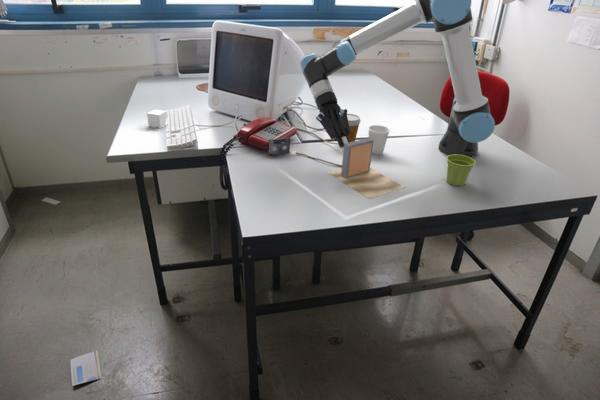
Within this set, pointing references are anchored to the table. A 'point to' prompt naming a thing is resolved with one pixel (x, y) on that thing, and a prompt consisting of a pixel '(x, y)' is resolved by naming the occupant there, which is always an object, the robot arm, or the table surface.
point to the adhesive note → (157, 118)
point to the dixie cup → (378, 137)
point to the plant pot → (458, 168)
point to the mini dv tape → (279, 145)
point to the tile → (357, 157)
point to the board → (368, 183)
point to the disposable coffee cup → (353, 126)
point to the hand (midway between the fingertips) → (348, 154)
